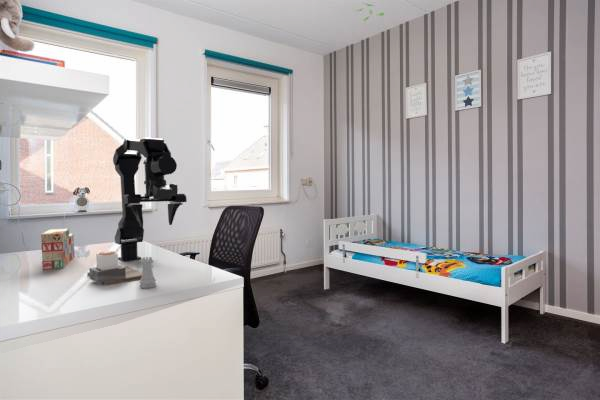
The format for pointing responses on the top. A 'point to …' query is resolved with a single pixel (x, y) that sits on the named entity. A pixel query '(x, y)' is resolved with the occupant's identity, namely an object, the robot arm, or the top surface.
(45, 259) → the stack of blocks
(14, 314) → the top surface
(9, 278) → the top surface
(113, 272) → the key console
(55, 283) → the top surface
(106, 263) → the key cap
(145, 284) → the rook chess piece
